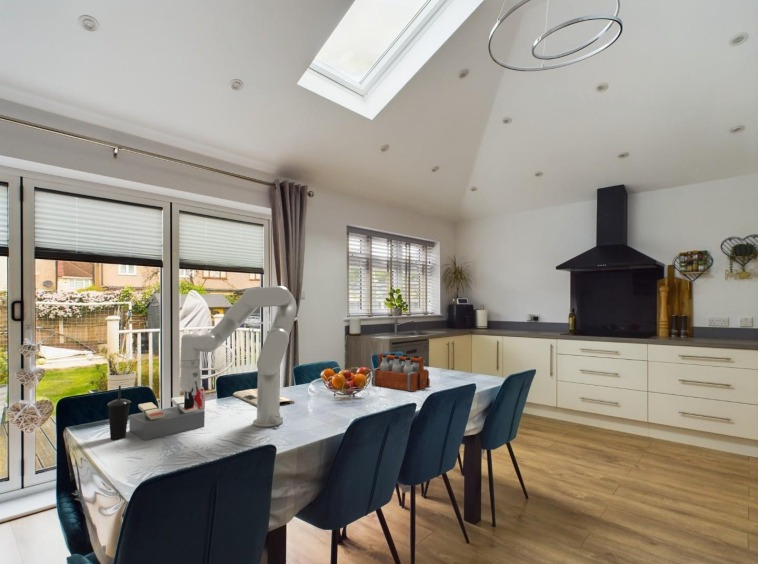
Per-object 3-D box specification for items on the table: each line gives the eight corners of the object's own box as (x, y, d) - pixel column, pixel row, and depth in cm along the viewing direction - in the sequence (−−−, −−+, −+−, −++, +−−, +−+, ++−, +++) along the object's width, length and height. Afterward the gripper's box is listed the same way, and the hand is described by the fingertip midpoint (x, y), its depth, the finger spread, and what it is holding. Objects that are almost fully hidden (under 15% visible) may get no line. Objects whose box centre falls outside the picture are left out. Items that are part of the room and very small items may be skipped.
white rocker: (196, 411, 170) (197, 407, 170) (184, 413, 167) (185, 410, 166) (182, 399, 179) (183, 395, 179) (171, 401, 176) (171, 397, 175)
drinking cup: (112, 442, 151) (114, 388, 152) (102, 439, 155) (104, 386, 156) (133, 437, 158) (135, 385, 158) (123, 433, 162) (125, 383, 163)
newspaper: (232, 396, 225) (233, 391, 226) (265, 391, 238) (265, 387, 238) (262, 410, 198) (262, 404, 198) (297, 403, 211) (297, 398, 211)
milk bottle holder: (415, 392, 235) (415, 359, 236) (368, 385, 256) (368, 354, 257) (433, 386, 252) (433, 355, 253) (387, 379, 273) (387, 351, 274)
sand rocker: (164, 417, 160) (164, 413, 160) (150, 420, 157) (151, 416, 157) (151, 405, 170) (151, 401, 170) (138, 407, 166) (138, 403, 166)
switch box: (204, 426, 171) (204, 408, 171) (144, 440, 153) (145, 420, 154) (181, 416, 185) (181, 399, 186) (124, 428, 168) (125, 409, 168)
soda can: (198, 415, 187) (199, 389, 187) (184, 414, 188) (185, 388, 188) (207, 411, 193) (208, 386, 194) (194, 410, 195) (195, 385, 195)
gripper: (207, 364, 168) (205, 409, 167) (191, 360, 178) (189, 403, 177) (189, 366, 162) (187, 413, 161) (173, 362, 172) (171, 406, 171)
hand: (188, 407), depth 169 cm, fingers closed
